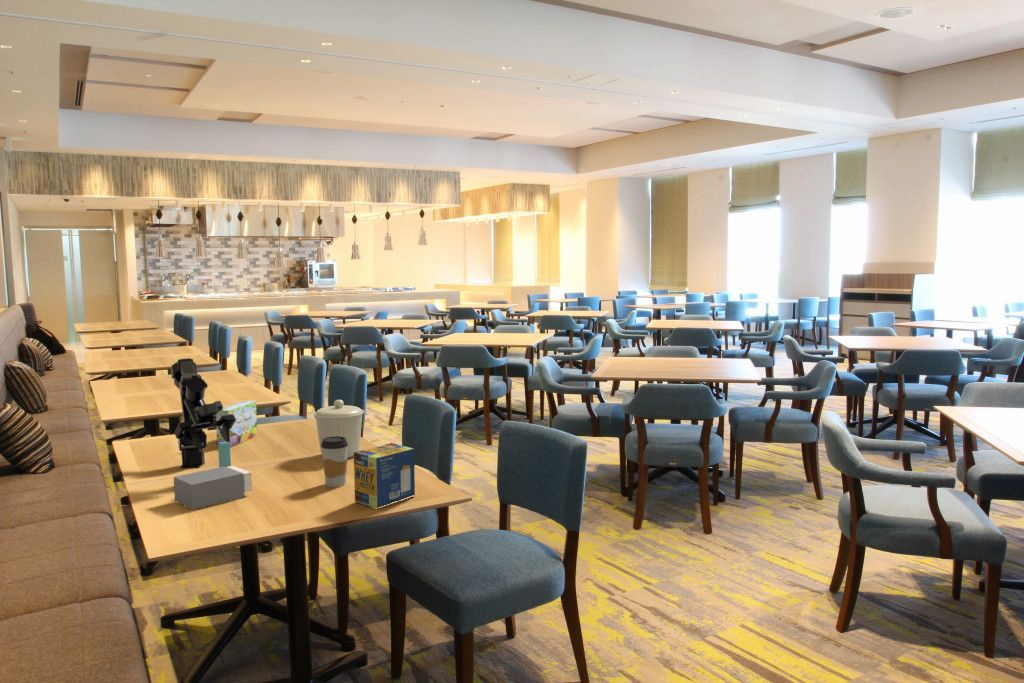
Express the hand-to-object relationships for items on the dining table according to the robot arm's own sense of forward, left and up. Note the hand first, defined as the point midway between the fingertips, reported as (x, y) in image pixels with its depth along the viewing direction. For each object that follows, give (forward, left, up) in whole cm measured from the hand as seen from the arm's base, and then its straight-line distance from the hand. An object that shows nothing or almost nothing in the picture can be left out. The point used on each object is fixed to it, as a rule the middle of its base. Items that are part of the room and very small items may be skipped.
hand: (215, 446), depth 249 cm
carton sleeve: (+3, -16, -12) cm, 21 cm away
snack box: (-11, +58, -13) cm, 61 cm away
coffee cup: (+39, -3, -13) cm, 41 cm away
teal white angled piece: (+3, -13, -11) cm, 18 cm away
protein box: (+57, -20, -13) cm, 61 cm away
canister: (+34, +33, -13) cm, 49 cm away
